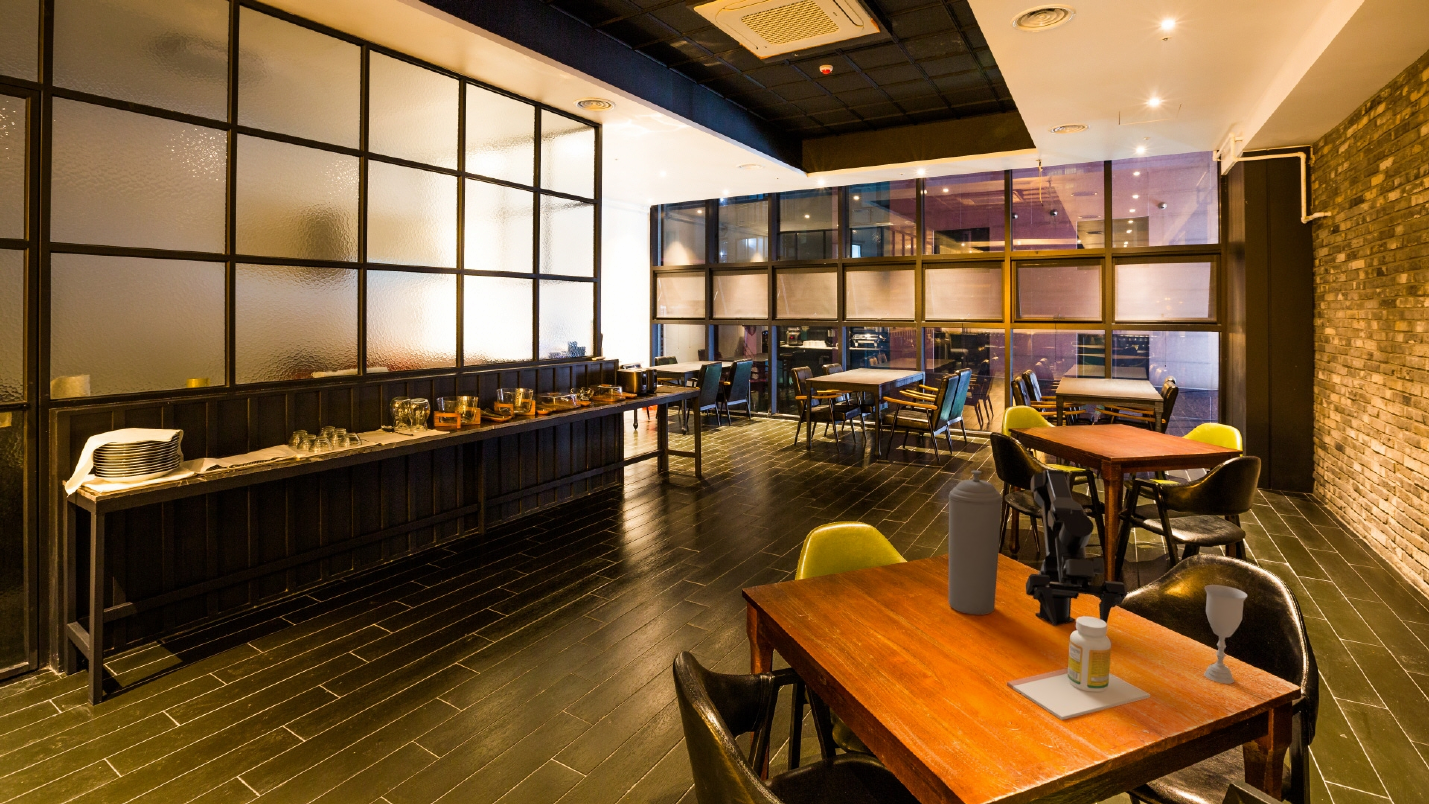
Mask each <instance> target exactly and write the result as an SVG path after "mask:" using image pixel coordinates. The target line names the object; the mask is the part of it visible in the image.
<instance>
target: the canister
mask: <svg viewBox="0 0 1429 804" xmlns="http://www.w3.org/2000/svg"><path fill="white" fill-rule="evenodd" d="M970 473H971V474H972V475H973V478H972V479H964V480H961V481H959V483H958V484H956V486H955V487H953V488H952V490H950V492H949V494H948V604H949V606H950V607H951V609H953V610H955V611H958V612H959V613H963V614H967V615H968V614H969V615H975V616H976V615H979V616H980V615H982V616H983V615H987V614H990V613H992V612H994V611H995V608H996V607H995V605H996V590H997V576H998V565H999V564H998V562H999V549H1000V533H1001V532H1000V531H1001V521H1002V520H1001V519H1002V518H1001V517H1002V505H1003V503H1002V502H1004V499H1003V497H1002V496H1003V495H1002V494H1001V493H1000V492H999V490H997V489H996V487H995V485H993V484H992V483H991V482H989V481H986V480H981V479H980V477H979V475H982V471H981V470H971V472H970Z"/></svg>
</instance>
